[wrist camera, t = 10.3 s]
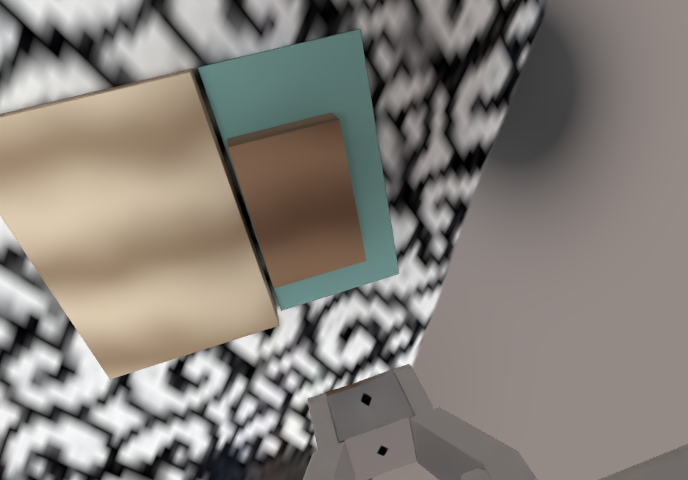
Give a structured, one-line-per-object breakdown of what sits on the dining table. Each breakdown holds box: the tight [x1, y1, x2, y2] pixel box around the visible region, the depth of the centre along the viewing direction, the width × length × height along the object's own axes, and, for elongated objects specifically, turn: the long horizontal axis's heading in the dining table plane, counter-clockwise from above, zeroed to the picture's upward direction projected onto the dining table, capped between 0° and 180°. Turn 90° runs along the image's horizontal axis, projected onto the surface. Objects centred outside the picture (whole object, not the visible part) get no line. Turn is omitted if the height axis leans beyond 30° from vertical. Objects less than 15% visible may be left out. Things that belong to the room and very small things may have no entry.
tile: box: [227, 113, 366, 288], centre depth 25 cm, size 9×6×2 cm, turn 11°
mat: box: [198, 29, 399, 311], centre depth 26 cm, size 16×9×1 cm, turn 11°
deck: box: [0, 69, 279, 379], centre depth 24 cm, size 16×11×2 cm
